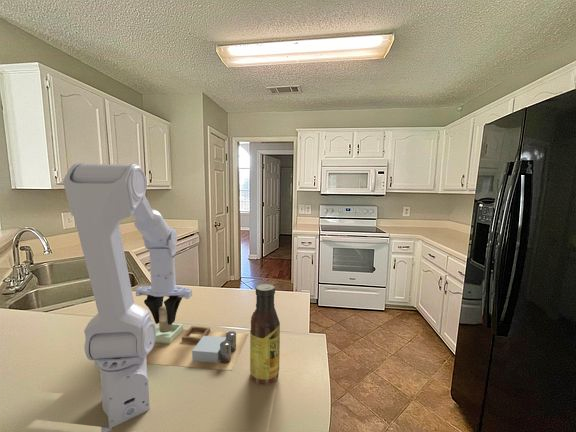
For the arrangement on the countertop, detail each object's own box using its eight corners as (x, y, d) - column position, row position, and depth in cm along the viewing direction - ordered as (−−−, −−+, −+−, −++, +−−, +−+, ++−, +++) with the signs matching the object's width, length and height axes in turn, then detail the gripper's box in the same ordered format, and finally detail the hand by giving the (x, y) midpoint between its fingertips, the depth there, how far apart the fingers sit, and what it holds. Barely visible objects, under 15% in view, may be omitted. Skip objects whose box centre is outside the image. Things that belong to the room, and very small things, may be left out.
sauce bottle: (275, 391, 50) (275, 295, 48) (245, 385, 52) (244, 292, 50) (282, 368, 57) (283, 283, 55) (256, 364, 58) (255, 280, 56)
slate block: (226, 346, 63) (226, 337, 63) (217, 362, 57) (217, 352, 57) (203, 345, 64) (203, 335, 63) (192, 361, 58) (192, 350, 57)
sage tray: (183, 330, 70) (183, 324, 70) (170, 344, 64) (170, 337, 64) (161, 328, 71) (161, 322, 71) (146, 342, 65) (146, 335, 64)
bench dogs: (237, 346, 63) (237, 331, 63) (229, 364, 57) (228, 347, 56) (228, 346, 63) (227, 331, 63) (218, 363, 57) (218, 346, 57)
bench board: (248, 336, 69) (248, 329, 69) (232, 373, 55) (232, 365, 55) (162, 330, 71) (161, 324, 71) (125, 364, 57) (125, 356, 57)
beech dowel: (173, 329, 67) (172, 308, 66) (161, 333, 65) (160, 311, 65) (170, 325, 69) (169, 304, 69) (158, 328, 68) (157, 307, 67)
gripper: (196, 269, 69) (198, 316, 70) (147, 266, 70) (149, 313, 72) (183, 277, 62) (185, 330, 63) (128, 275, 63) (131, 326, 65)
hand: (165, 322), depth 67 cm, fingers closed on beech dowel, 3 cm apart
